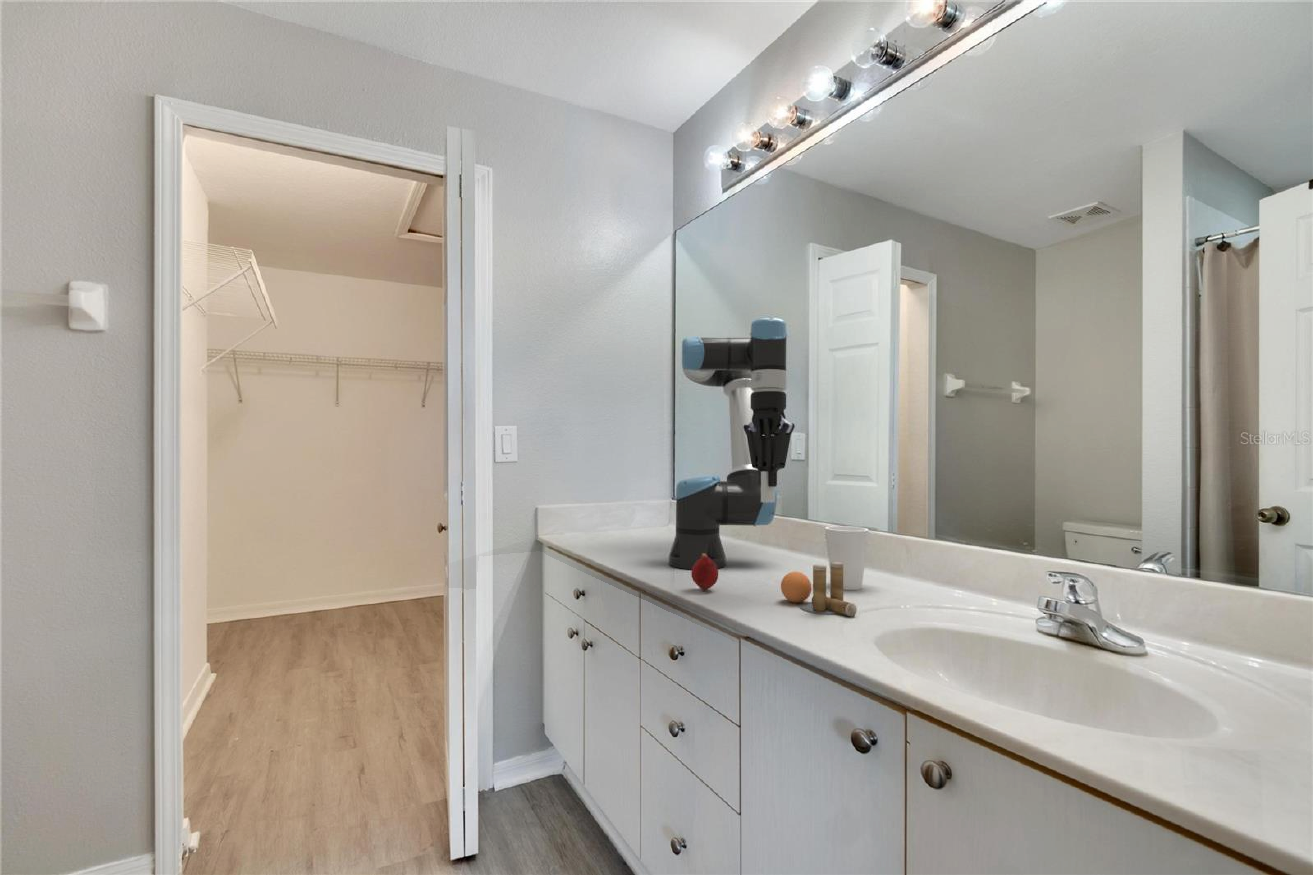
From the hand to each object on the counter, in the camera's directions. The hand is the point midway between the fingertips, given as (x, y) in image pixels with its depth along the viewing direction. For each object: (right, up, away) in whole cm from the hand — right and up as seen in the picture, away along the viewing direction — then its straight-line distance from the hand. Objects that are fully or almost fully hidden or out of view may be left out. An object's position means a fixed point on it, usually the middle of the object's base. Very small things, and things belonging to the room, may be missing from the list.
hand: (767, 501), depth 128 cm
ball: (+4, -16, -7) cm, 18 cm away
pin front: (+7, -18, -11) cm, 22 cm away
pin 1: (+7, -19, -15) cm, 25 cm away
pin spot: (+8, -19, -12) cm, 24 cm away
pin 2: (+11, -19, -12) cm, 25 cm away
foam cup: (+19, -20, +7) cm, 28 cm away
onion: (-13, -20, +2) cm, 24 cm away
